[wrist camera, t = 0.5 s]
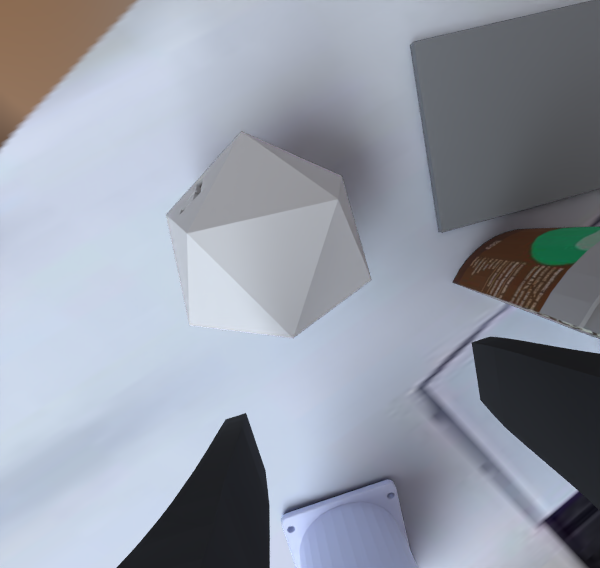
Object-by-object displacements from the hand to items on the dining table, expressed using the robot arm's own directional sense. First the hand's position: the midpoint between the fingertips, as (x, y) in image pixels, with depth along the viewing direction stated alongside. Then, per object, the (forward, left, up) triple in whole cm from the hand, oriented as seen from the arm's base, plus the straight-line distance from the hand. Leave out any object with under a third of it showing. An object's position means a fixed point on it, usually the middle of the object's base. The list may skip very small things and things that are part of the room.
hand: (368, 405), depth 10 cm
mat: (+8, -15, -10) cm, 19 cm away
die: (+5, +1, -10) cm, 12 cm away
